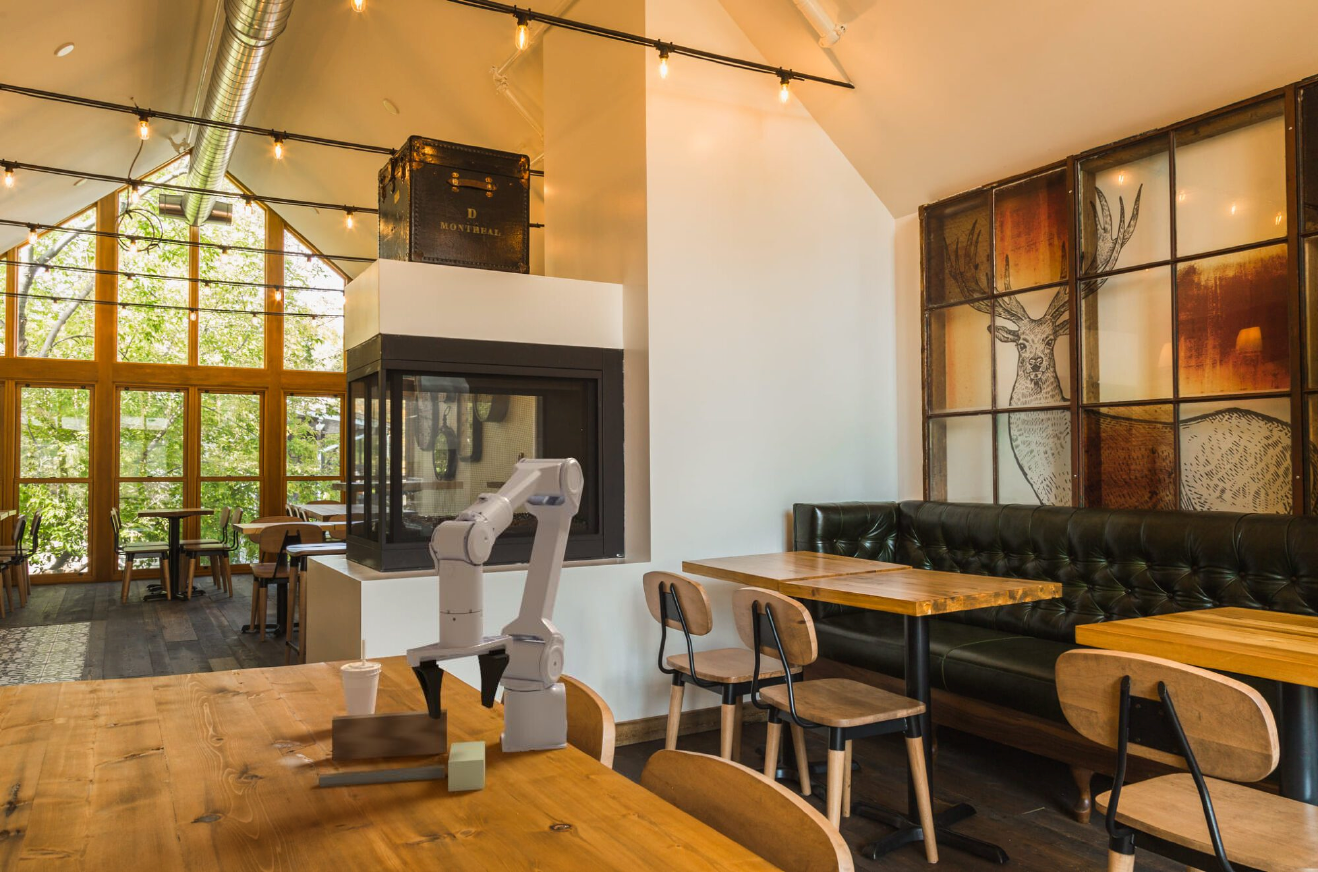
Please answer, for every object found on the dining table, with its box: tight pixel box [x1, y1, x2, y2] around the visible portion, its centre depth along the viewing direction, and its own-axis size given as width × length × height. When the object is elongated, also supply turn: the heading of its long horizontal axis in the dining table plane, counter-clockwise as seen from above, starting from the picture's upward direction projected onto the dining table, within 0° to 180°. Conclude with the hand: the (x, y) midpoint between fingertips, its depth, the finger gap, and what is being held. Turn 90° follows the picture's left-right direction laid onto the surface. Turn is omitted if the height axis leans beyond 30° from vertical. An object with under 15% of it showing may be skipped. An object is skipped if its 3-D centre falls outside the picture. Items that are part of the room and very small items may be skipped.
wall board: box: [331, 708, 448, 761], centre depth 129 cm, size 16×2×6 cm, turn 102°
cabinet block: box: [447, 740, 486, 792], centre depth 118 cm, size 4×8×4 cm, turn 10°
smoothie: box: [339, 638, 382, 716], centre depth 143 cm, size 6×6×14 cm
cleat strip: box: [318, 764, 446, 788], centre depth 118 cm, size 16×1×2 cm, turn 102°
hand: (461, 711), depth 118 cm, fingers open, 7 cm apart
